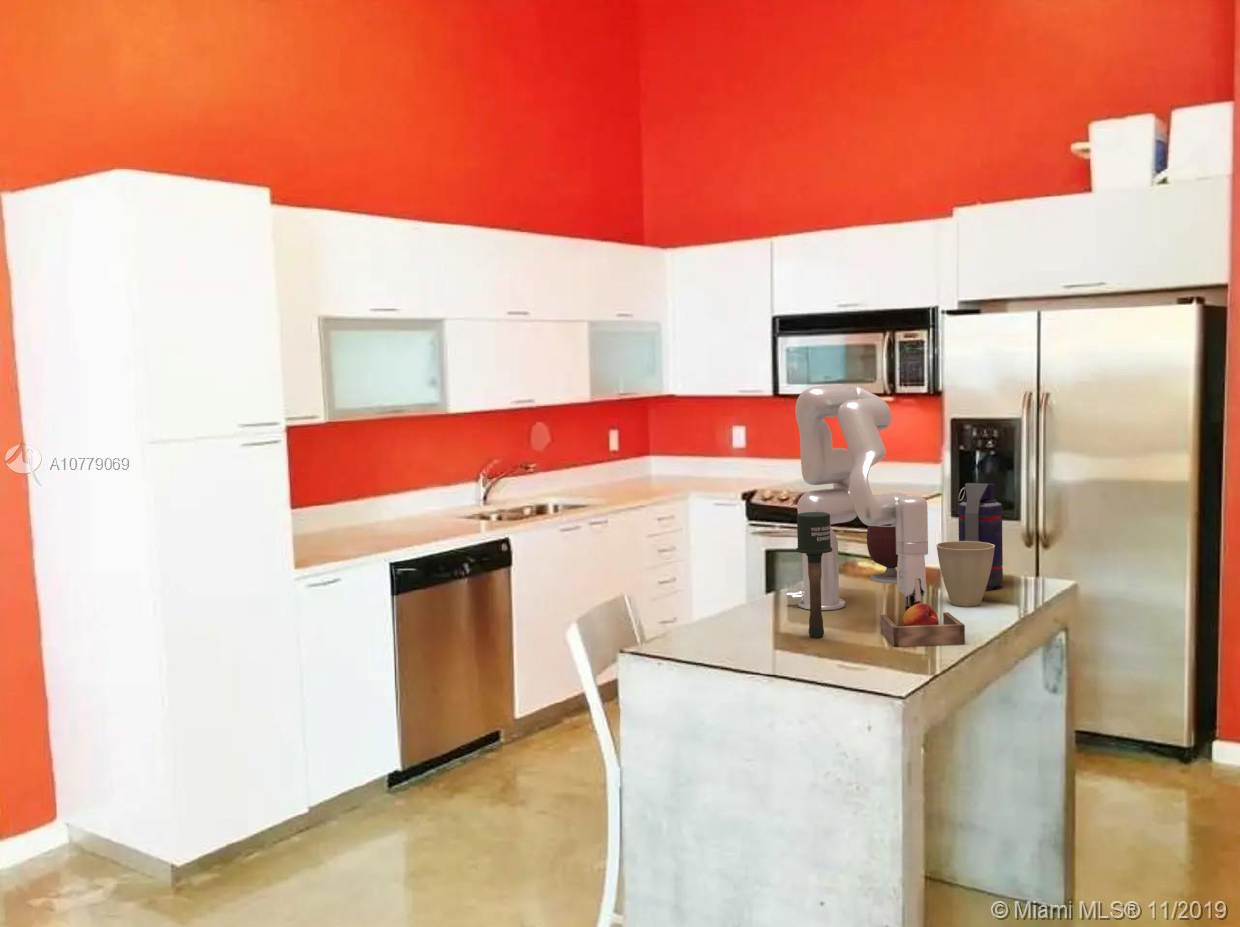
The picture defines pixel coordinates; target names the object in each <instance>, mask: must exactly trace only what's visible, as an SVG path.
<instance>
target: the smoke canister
mask: <svg viewBox="0 0 1240 927" xmlns="http://www.w3.org/2000/svg"><path fill="white" fill-rule="evenodd" d="M963 490H964V492H963V495H962V497H961V499H960V496H961V493H962V491H963ZM964 497H965V498H964ZM957 500H958V502H959V503H958V505H957V506H958V507H957V508H958V512H957V514H958V516H959V517H958V541H976V542H985V543H990V544H993V545H995V549H994V556H993V562H992V567H991V572H990V576H989V580H988V583H987V586H986V590H985V591H993V590H994V587H995V588H996V587H1000V586H1002V585H1003V583H1004V579H1003V577H1004V576H1003V575H1004V574H1003V573H1004V571H1003V569H1004V568H1003V566H1004V565H1003V561H1004V559H1003V555H1004V554H1003V518H1002V516H1003V504H1002V503H1001V502H998V501H997V499H996V498H995V484H994V483H987V482H966V483H964V486H963V487H962V488H961V489H960V492H959V494H958V499H957Z"/></svg>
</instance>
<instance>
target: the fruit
mask: <svg viewBox="0 0 1240 927" xmlns="http://www.w3.org/2000/svg"><path fill="white" fill-rule="evenodd" d="M901 624H902V626H921V625H940V622H939V618H938V615H937V614H936V612H935V610H934V609H933V608H932V606H930V605H929V604H926V603H923V602H920V603H918V604H915V605H913V606H911V607H910V608H909V609H908V610H907V611H904V614H903V616H902V622H901Z"/></svg>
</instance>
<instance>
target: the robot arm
mask: <svg viewBox="0 0 1240 927" xmlns="http://www.w3.org/2000/svg"><path fill="white" fill-rule="evenodd" d="M794 408H795V418H796V422H797V427H798V431H799V432H798V433H799V448H800V465H801V466H800V469H801V475H802V476H801V477H802V478H803V480H804V482H805V483H806V484H808V485H811V486H821V485H823V486H824V485H832V486H833V488H826V489H825V488H824V489H815V490H810V491H808V492H805V493H804V494H802V495H801V497H800V498H799V500H798V502H797V508H796V509H797V515H798V514H800V513H805V512H824V513H828V514H830V538H831V547H832V551H831V552H829V553H822V554H823V555H822V556H821V559H822V562H821V573H822V575H821V611H831V610H832V611H833V610H839V609H843V608H844V607H845V606H846V601H845V600H844V599H842V598H840V582H839V580H840V576H839V569H840V568H839V542H838V538H837V537H838V536H837V535H836V533H835V532H834V530H833V528H832V527H831V525H835V524H841V523H848V522H851V521H853V520H855V519H856V518H857V517H858V518H859V520H860V521H861V523H863V524H864V525H866V526H867V527H868V526H879V525H886V524H895V523H896V554H897V555H898V565H897V567H896V571H897V583H896V588H897V590H898V592H900V593H901V594H902V595H903V596H904V602H905V608H904V609H905V611H904V612H906V611H907V610H908V609H909V608H910V607H911V606H913V605H915V604H918V603H922V597H924V596H925V595H926V593H927V576H926V574H927V573H926V572H927V571H926V556H927V555H929V531H928V530H929V529H928V528H929V527H928V525H929V524H928V523H929V522H928V520H929V519H928V516H929V515H928V513H929V512H928V502H927V499H925V498H924V497H921V496H910V495H907V494H905V493H902V492H901V493H900V492H893V493H881V494H873V492H872V489H871V486H870V483H869V472H870V469H871V467H873V466H875V465H876V464H877V463H879V462H881V460H883V459H884V458H885V457H886V454H887V450H886V449H887V448H886V447H885V444H884V442H883V439H882V437H881V435H880V432H879V431H884V430H886V429H887V428H888V427H890V425H891V421H892V416H893V415H892V411H891V409H890V406H889V405H888V403H887V402H886V401H885V400H884V399H883V398H881V397H880V396H878V395H876V394H874V393H872V392H870V391H868V390H866V389H865V388H863V387H861V386H859V385H856V384H835V385H834V384H833V385H831V384H830V385H829V384H828V385H819V386H818V385H817V386H813V387H809V388H807V389H804V390H803V391H802V392H801V393H799V396H798V398H797V400H796V403H795V407H794ZM825 418H826V419H827V418H837V422H838V424H839V427H840V430H841V432H842V434H843V438H844V440H845V443H846V445H847V448H844V447H833V434H832V430H831V429H830V427H829V425H828V423H827V422H826V420H825ZM802 582H803V587H800V590H797V591H795V592H794V591H787V592H786V593H785V596H786V597H785V598H786V600H793V601H797V600H798V602H797V605H798V607H799V608H801V609H805V610H810V582H809V576H808V557H807V555H806V554H805V553H802Z"/></svg>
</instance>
